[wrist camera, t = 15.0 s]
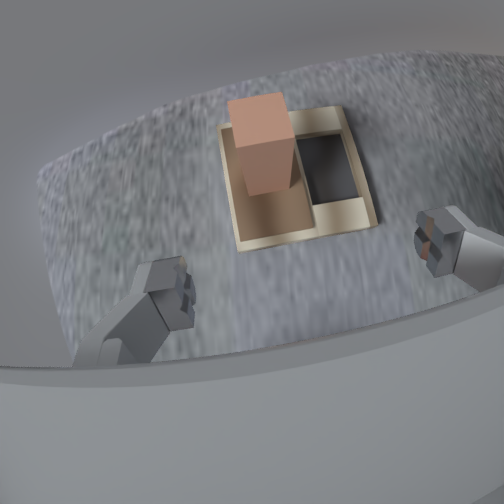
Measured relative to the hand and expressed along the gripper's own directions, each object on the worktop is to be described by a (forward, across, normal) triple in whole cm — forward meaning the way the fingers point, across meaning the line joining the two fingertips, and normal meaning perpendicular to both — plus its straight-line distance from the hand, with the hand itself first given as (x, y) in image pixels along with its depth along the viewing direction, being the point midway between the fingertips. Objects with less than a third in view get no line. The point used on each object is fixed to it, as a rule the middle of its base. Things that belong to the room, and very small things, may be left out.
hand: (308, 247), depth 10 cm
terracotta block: (+25, 0, +8) cm, 26 cm away
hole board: (+26, -4, +9) cm, 28 cm away
